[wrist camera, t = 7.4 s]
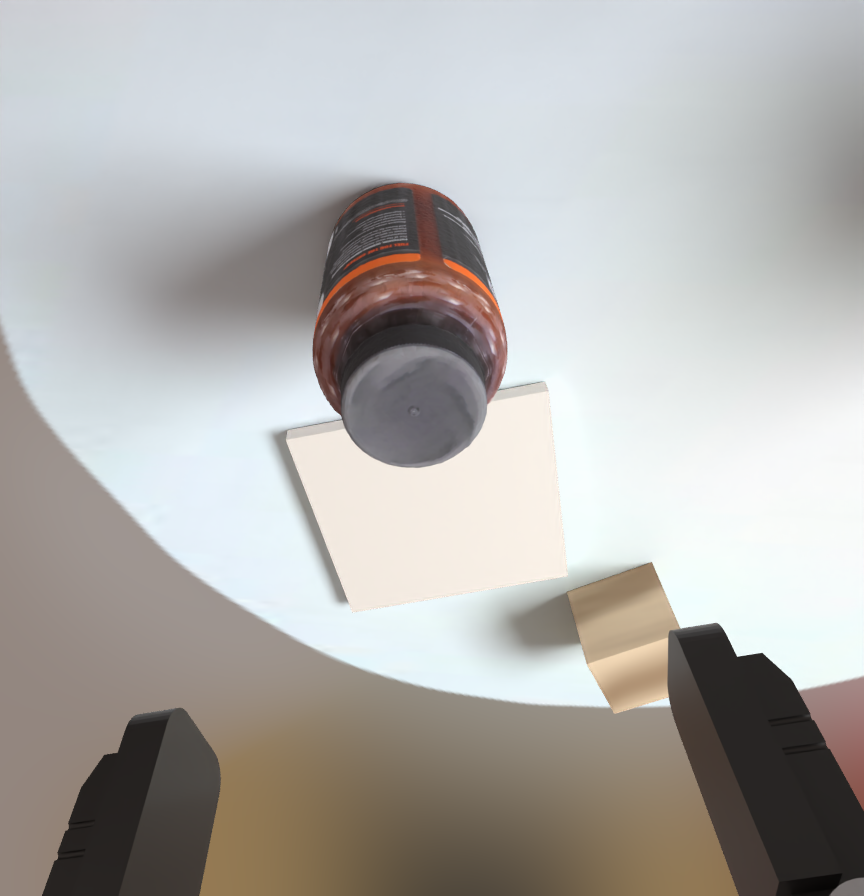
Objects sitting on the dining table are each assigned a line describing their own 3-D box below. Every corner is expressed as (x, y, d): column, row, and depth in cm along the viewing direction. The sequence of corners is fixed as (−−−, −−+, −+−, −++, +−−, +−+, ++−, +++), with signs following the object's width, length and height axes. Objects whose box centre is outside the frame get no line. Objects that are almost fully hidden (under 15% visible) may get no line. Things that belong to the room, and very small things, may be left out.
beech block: (566, 591, 40) (586, 663, 36) (651, 561, 39) (682, 633, 35) (593, 640, 43) (614, 713, 39) (672, 614, 42) (703, 686, 38)
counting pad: (287, 430, 32) (285, 440, 32) (545, 381, 31) (548, 390, 31) (353, 601, 39) (352, 612, 39) (564, 565, 38) (567, 576, 38)
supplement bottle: (299, 268, 28) (255, 428, 19) (388, 143, 25) (389, 258, 16) (416, 349, 30) (429, 526, 21) (509, 243, 28) (570, 392, 19)
